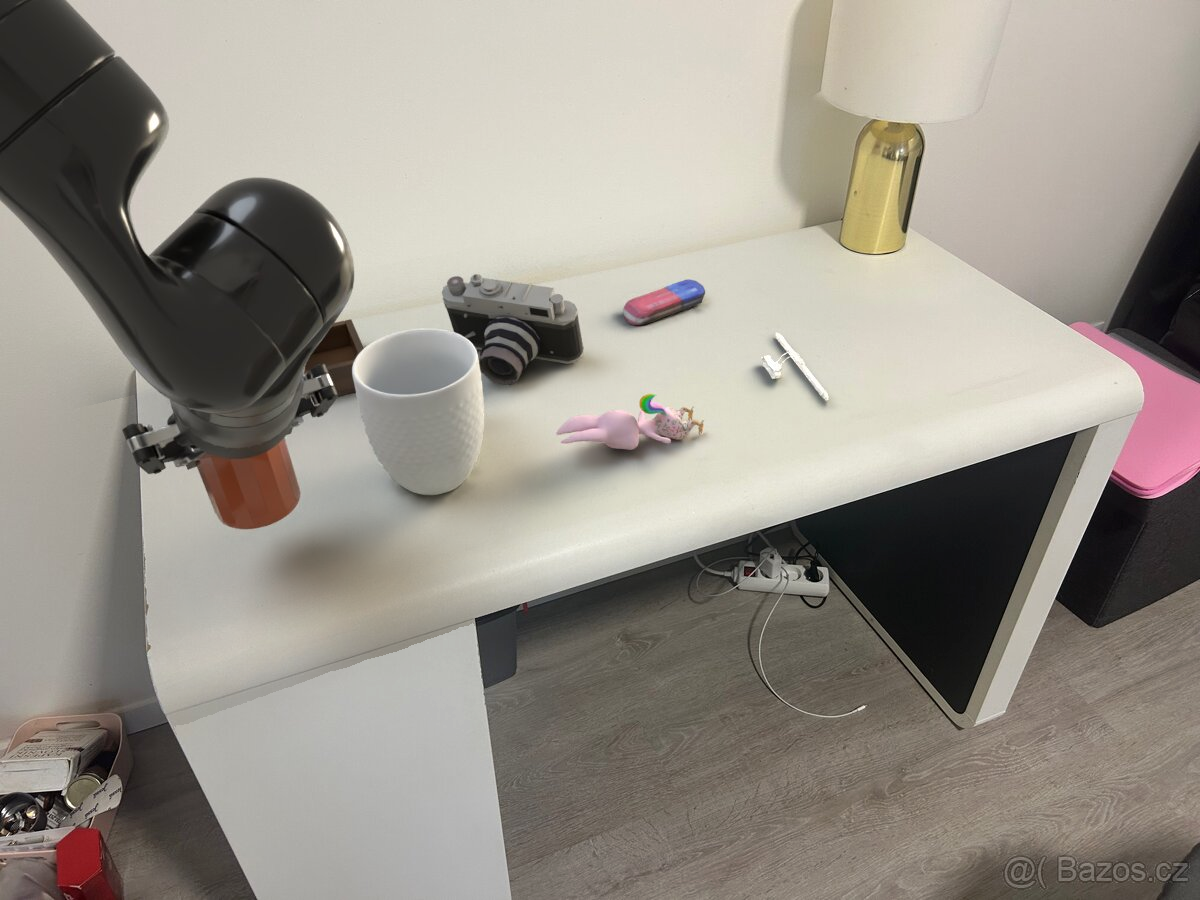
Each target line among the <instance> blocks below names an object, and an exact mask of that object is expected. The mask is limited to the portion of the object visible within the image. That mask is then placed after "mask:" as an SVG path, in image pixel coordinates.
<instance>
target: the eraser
mask: <svg viewBox="0 0 1200 900" xmlns="http://www.w3.org/2000/svg"><path fill="white" fill-rule="evenodd" d="M705 294H706V289H705V286H704V285H703V284H702V283H700V282H698V281H696V280H693V279H684V280H681V281H677V282H675V283H672V284H670V285H667V286H664V287H662V288H660V289H657V290H654V291H651V292H648V293H645V294H642V295H640V296H636V297H634V298H631V299H629V300H627V301H626V303H625V304H624V306H623V310H622V311H623V312H622V313H623V316H624V320H625V321H626V322H627V323H629V324H630V325H633V326H640V325H646V324H650V323H653V322H656V321H658V320H660V319H663V318H666V317H668V316H671V315H673V314H676V313H679V312H681V311H684V310H686V309H689V308H691V307H692V308H693V307H695V306H697V305H700V304H702V303H703V301H704V298H705Z"/></svg>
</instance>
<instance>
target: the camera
mask: <svg viewBox="0 0 1200 900" xmlns="http://www.w3.org/2000/svg"><path fill="white" fill-rule="evenodd" d="M469 280H470V281H469V282H465V280H464V278H463V277H461V276H459V275H455V276H452V277H450V278H448V280H447V282H446V285H444V286H443V287H442V290H441V295H442V300H443V305H444V307H445V309H446V312H447V314H448V317H449V320H450V324H451V326H452V331H453V332H455V333H457V334H460V335H461V336H463V337H465V338H466V339H468V340H469V341H470V342H471V343H472V344H473V345H474V347H475V348H476V350H479V351H480V352H479V353H480V354H479V355H480V356H479V357H480V358H479V359H478V360H479V366H480V372H481V374H482V375H483V376H485V377H486V378H487V379H488V380H490V381H492V382H493V383H497V384H499V385H512V384H515V383H517V382H518V380H519V379H520V377H521V375H523V374H524V373H525V371H526V368H527V367H528V365H529V364H530V362H532V361H533V360H534V359H536V360H540V361H547V362H554V363H561V364H567V365H570V364H573V363H576V362H578V361H580V360H581V359H582V358H583V356H584V351H585V347H584V344H583V343H584V342H583V338H582V332H581V326H580V321H579V310H578V308H577V306H576V305H575V303H574V302H572V301H570V300H565V299H564V297H563V295H562V294H559V293H555V288H554V287H551V286H550V287H549V286H543V285H535V284H532V283H531V282H530V283H529V284H528V283H521V282H515V281H506V280H500V279H493V278H485V277H483V276H482V275H481V274H479V273H478V274H477V273H474V274H473V275H471V277H470V279H469Z"/></svg>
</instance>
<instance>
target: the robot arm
mask: <svg viewBox="0 0 1200 900" xmlns="http://www.w3.org/2000/svg"><path fill="white" fill-rule="evenodd" d="M116 53H117V52H116V51H115V50H114V48H113V47H112V46H111V45H110V44H109V43H108V42H107V40H105V39H104V38H103V37H102V36H101V35H100V34H99V33H98V32H97V31H96V30H95V28H93V27H92V25H90V23H89V22H88V21H87V20H86V19H85V18H84V17H83V16H82V15H81V14H80V12H78V11H77V10H76V9H75V8H74V7H73V6H72V5H71V4H70V2H69V1H67V0H0V202H1V203H2V204H3V205H5V207H6V208H8V210H9V211H10V212H12V214H14V216H15V217H16V218H18V220H19V221H20V222H21V223H22V224H23V225H24V226H25V227H26V228H27V229H28V230H29V231H30V232H31V234H32V235H33V236H34V237H35V238H36V239H37V240H38V241H39V242H40V243H41V245H42V246H43V247H44V248H45V249H46V250H47V252H48V253H49V254H50V255H51V257H52V258H53V259H54V261H55V262H56V263H57V264H58V265H59V267H60V268H61V269H62V271H64V273H65V274H66V275H67V276H68V278H69V280H71V281H72V283H73V285H74V286H75V287H76V288H77V291H79V293H80V294H81V295H82V297H83V298H84V299H85V301H86V302H87V303H88V305H89V306H90V308H91V310H92V311H93V312H94V314H95V315H96V316H97V318H98V319H99V321H100V322H101V324H102V325H103V327H104V328H105V330H106V331H107V333H108V334H109V336H110V337H111V338H112V339H113V341H114V342H115V344H116V345H117V347H118V348H119V349H120V351H121V353H122V354H123V355H124V357H125V358H126V359H127V361H129V362H130V365H132V367H133V368H134V369H135V370H136V372H137V373H138V374H139V375H140V376H141V377H142V378H143V379H144V380H145V381H146V382H147V383H148V384H149V385H150V386H151V387H153V388H154V389H155V391H157V392H158V393H159V394H161V395H162V396H164V397H165V398H167V399H169V402H170V407H171V411H172V414H171V415H170V416H168V418H167V421H166V424H167V425H165V426H162V427H159V428H155V429H154V428H153V425H152V424H151V423H150V424H145V425H144V424H142V423H131V424H128V425H127V426H125V427H123V428H122V430H121V431H122V433H123V436H124V438H125V440H126V444H127V445H128V448H129V450H130V452H131V454H132V457H133V460H134V461H135V465H137V466H138V467H139V468H140V469H142V470H143V471H144V472H145V473H146V474H148V475H153V474H154V475H157V474H160V473H162V472H163V471H164V470H165V469H167V466H166V463H171V462H173V465H174V467H175V468H180V467H184V466H185V468H186V469H187V470H191V469H194V468H197V466H196V461H197V460H201V459H205V458H209V457H210V456H212V455H214V456H217V457H221V458H227V459H245V458H250V457H254V456H258V455H260V454H263V453H265V452H267V451H269V450H270V449H272V448H273V447H275V446H276V445H277V444H278V443H280V442H281V441H282V440H283V438H286V436H289V435H291V434H292V432H293V429H294V428H296V427H299V426H301V424H303V423H304V418H303V416H306V415H308V414H310V415H311V418H320V417H323V416H324V415H325V414H327V412H329V410H330V408H331V407H332V406H333V404H334V403H335V401H336V400H337V398H338V397H339V396H338V393H337V391H336V388H335V386H334V384H333V381H332V379H331V377H330V374H329V372H328V370H327V368H326V365H325V364H321V365H320V364H317V365H315V366H313V368H311V369H309V371H308V373H307V374H304V371H305V366H306V363H307V361H308V359H309V357H310V356H311V354H312V352H313V351H314V350H315V348H316V347H317V346H318V345H319V343H320V342H321V341H322V339H323V338H324V337H325V335H326V334H327V332H328V331H329V330H330V328H331V327H332V325H333V324H334V323H335V322H337V320H338V318H339V317H340V315H341V314H342V312H343V311H344V309H345V307H346V306H347V304H348V302H349V301H350V298H351V296H352V293H353V289H354V283H355V263H354V257H353V252H352V249H351V246H350V243H349V241H348V238H347V237H346V235H345V232H344V230H343V229H342V227H341V225H340V223H339V222H338V220H337V219H336V218H335V216H334V215H333V214H332V213H331V211H330V210H329V209H328V208H327V207H326V206H325V205H324V204H323V202H321V201H319V200H318V199H317V198H316V197H314V195H311V194H310V192H308V191H306V190H304V189H303V188H300V187H298V186H296V185H294V184H292V183H289V182H286V181H284V180H280V179H278V178H277V179H276V178H271V177H262V176H261V177H260V176H259V177H256V176H255V177H254V176H252V177H246V178H241V179H238V180H233V181H232V182H229V183H227V184H225V185H224V186H222V187H220V188H219V189H218V190H216V191H215V192H214V193H212V194H211V195H210V196H209V197H208V198H207V199H206V200H205V201H204V202H202V204H201V205H200V206H199V207H197V208H196V209H195V210H194V211H193V213H192V214H191V215H190V216H189V217H188V218H186V220H184V221H183V223H181V224H180V225H179V226H178V227H177V228H176V229H175V230H174V231H173V232H172V233H170V234H169V235H168V237H166V238H165V240H163V241H162V242H161V243H160V245H158V246H157V247H156V248H155V249H153V251H152V252H150V253H149V254H148V253H147V252H146V251H145V249H144V248H143V246H142V243H141V241H140V239H139V238H138V237H139V236H137V232H136V229H135V226H134V223H133V218H132V214H131V204H132V199H133V196H134V194H135V191H136V189H137V187H138V185H139V183H140V182H141V180H142V178H143V177H144V175H145V173H146V172H147V170H148V169H149V167H150V166H151V164H152V163H153V161H154V160H155V158H156V157H157V155H158V154H159V152H160V151H161V149H162V147H163V145H164V144H165V142H166V139H167V138H168V135H169V131H170V119H169V114H168V112H167V110H166V108H165V106H164V104H163V103H162V101H161V100H160V98H159V97H158V96H157V95H156V94H155V92H154V90H152V88H151V87H150V86H149V85H148V84H147V83H146V82H145V81H144V79H143V78H142V77H140V75H139V74H138V73H137V72H136V71H135V70H134V69H133V68H132V67H131V66H130V64H129V63H127V61H126V60H125V59H124V58H122V56H119V55H116Z"/></svg>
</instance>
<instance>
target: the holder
mask: <svg viewBox="0 0 1200 900" xmlns="http://www.w3.org/2000/svg"><path fill="white" fill-rule="evenodd" d="M364 348H365V347H364V345H363V342H362V340H361V339H360V337H359V334H358V331H357V329H356V327H355V324H354V322H353V320H352V319H351V318H350V319H345V320H340V321H335V323H334V324H333V325H332V327H331V328H330V330H329V331H328V332H327V334H326V335H325V337H324V338H323V339H322V341H321V342H320V343H319V345H318V346H317V347H316V348H315V350H314V351H313V352H312V354H311V356H310V357H309V359H308V361H307V363H306V366H305V371H304V374H307V373H308V371H309V369H311V368H313V366H315V365H317V364H320V365H321V364H325V365H326V368H327V370H328V372H329V374H330V377H331V379H332V381H333V384H334V386H335V388H336V391H337V393H338V397H342V396H345V395H349V394H353V393H356V389H355V385H354V380H353V375H352V366H353V363H354V361H355V359H356V357H357V355H358V354H359V353H360V352H361V351H362V350H363V349H364Z"/></svg>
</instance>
